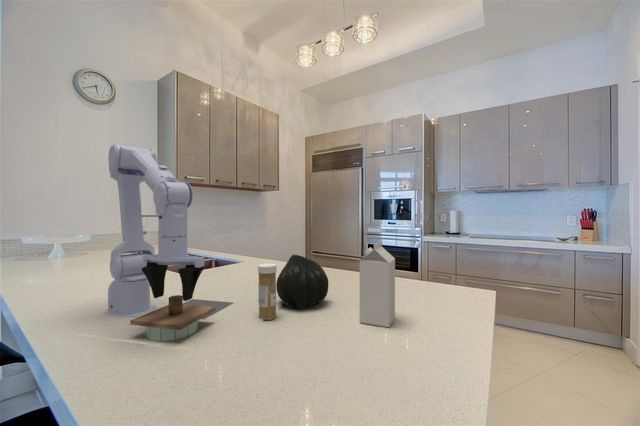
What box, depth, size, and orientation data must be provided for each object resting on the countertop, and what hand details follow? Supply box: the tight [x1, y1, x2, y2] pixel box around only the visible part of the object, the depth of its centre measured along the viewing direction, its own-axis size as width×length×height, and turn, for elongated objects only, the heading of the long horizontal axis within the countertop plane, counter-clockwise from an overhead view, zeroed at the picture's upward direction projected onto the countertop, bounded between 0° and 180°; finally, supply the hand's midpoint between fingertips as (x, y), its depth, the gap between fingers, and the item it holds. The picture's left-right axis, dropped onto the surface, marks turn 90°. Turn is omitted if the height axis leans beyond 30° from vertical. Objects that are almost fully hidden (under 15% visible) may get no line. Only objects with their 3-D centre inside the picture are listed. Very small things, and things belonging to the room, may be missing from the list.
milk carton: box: [359, 241, 396, 328], centre depth 73 cm, size 7×7×19 cm
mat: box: [183, 298, 234, 321], centre depth 81 cm, size 14×14×1 cm
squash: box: [276, 254, 329, 309], centre depth 87 cm, size 14×15×15 cm
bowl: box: [145, 320, 199, 342], centre depth 65 cm, size 10×10×3 cm
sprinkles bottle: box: [257, 262, 277, 321], centre depth 75 cm, size 5×5×14 cm
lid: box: [129, 294, 215, 330], centre depth 66 cm, size 12×12×4 cm
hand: (172, 298), depth 65 cm, fingers open, 7 cm apart
